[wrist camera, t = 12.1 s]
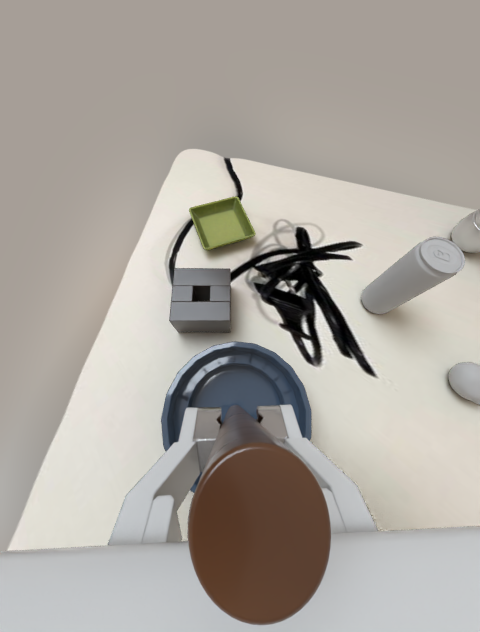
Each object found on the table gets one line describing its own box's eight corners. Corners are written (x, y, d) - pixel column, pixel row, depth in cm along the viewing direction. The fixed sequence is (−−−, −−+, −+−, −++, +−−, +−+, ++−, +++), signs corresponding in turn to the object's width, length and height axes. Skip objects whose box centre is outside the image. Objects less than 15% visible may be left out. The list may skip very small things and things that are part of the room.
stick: (240, 426, 21) (308, 667, 2) (224, 418, 21) (157, 579, 2) (246, 409, 21) (349, 479, 3) (231, 402, 22) (223, 420, 3)
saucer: (205, 257, 36) (203, 249, 34) (190, 217, 39) (187, 207, 37) (255, 243, 38) (256, 234, 36) (237, 205, 40) (237, 195, 39)
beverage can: (362, 282, 36) (423, 229, 25) (392, 294, 35) (468, 245, 24) (355, 308, 34) (416, 263, 23) (386, 320, 34) (464, 281, 23)
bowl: (269, 508, 25) (281, 540, 20) (152, 446, 27) (131, 459, 21) (311, 380, 30) (329, 376, 25) (209, 335, 32) (205, 321, 26)
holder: (230, 332, 32) (230, 320, 28) (178, 332, 32) (169, 321, 27) (230, 286, 35) (230, 268, 30) (182, 285, 35) (174, 268, 30)
